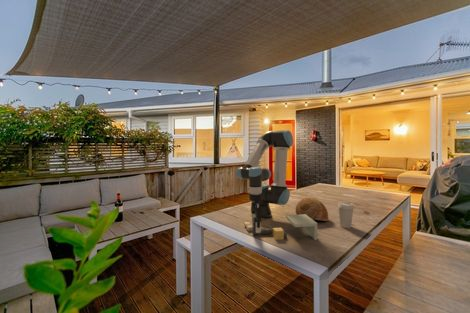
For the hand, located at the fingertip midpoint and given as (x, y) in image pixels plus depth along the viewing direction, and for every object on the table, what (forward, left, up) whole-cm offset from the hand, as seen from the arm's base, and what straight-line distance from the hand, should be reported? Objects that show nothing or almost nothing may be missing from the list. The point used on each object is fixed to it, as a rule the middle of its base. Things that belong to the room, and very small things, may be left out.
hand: (255, 228), depth 136 cm
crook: (+3, +7, -4) cm, 9 cm away
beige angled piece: (+4, +26, -4) cm, 27 cm away
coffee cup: (-4, +60, -4) cm, 60 cm away
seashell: (-21, +44, -4) cm, 49 cm away
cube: (+6, +12, -4) cm, 14 cm away
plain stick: (-10, -3, -4) cm, 12 cm away
